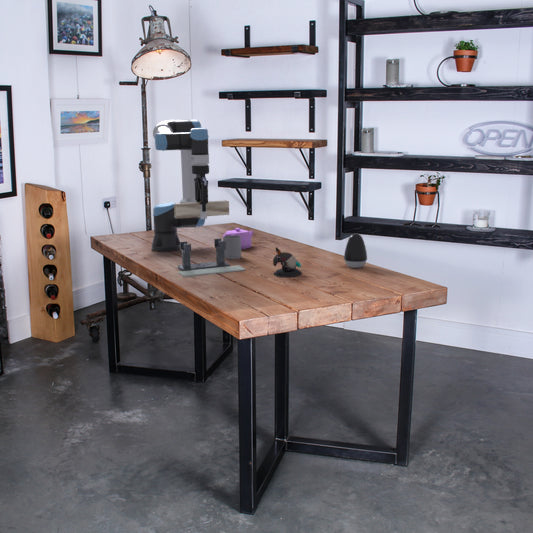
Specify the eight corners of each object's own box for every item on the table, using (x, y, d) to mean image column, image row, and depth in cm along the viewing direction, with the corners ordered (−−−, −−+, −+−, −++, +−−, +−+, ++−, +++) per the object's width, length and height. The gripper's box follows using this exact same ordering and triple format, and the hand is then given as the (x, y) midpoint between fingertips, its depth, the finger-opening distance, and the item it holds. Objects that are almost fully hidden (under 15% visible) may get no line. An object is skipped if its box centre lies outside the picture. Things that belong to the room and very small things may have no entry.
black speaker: (368, 265, 289) (369, 231, 286) (364, 270, 280) (365, 236, 276) (346, 263, 293) (347, 230, 289) (341, 268, 283) (342, 234, 280)
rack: (177, 268, 288) (176, 241, 285) (224, 263, 296) (223, 237, 293) (182, 271, 281) (181, 245, 278) (229, 266, 289) (229, 240, 286)
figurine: (303, 276, 270) (303, 249, 268) (275, 278, 269) (274, 251, 266) (298, 270, 281) (297, 244, 278) (271, 272, 279) (270, 246, 277)
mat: (178, 272, 279) (178, 271, 279) (238, 266, 289) (238, 265, 289) (183, 276, 272) (183, 275, 272) (245, 270, 282) (245, 269, 282)
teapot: (248, 243, 341) (247, 224, 339) (258, 247, 333) (258, 227, 330) (218, 248, 331) (218, 228, 329) (229, 251, 323) (228, 231, 320)
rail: (174, 217, 280) (173, 203, 279) (226, 213, 289) (226, 200, 288) (176, 218, 277) (176, 204, 275) (229, 214, 286) (228, 201, 284)
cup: (238, 259, 304) (238, 238, 302) (221, 258, 306) (221, 238, 303) (242, 255, 312) (242, 235, 310) (226, 255, 314) (225, 235, 311)
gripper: (186, 163, 284) (188, 215, 289) (197, 166, 269) (199, 221, 274) (202, 163, 287) (204, 214, 292) (214, 165, 271) (216, 220, 277)
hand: (202, 217), depth 283 cm, fingers closed on rail, 4 cm apart
